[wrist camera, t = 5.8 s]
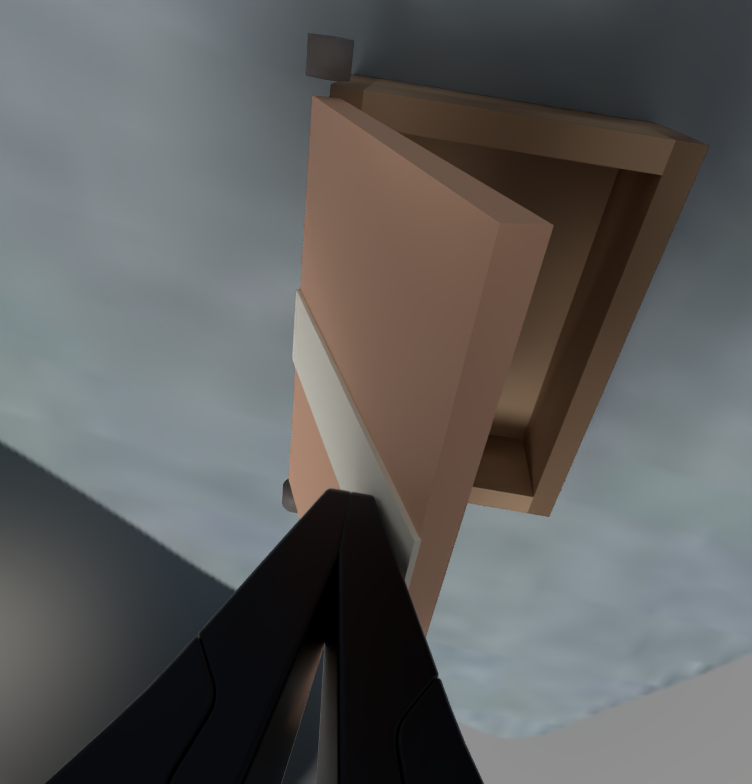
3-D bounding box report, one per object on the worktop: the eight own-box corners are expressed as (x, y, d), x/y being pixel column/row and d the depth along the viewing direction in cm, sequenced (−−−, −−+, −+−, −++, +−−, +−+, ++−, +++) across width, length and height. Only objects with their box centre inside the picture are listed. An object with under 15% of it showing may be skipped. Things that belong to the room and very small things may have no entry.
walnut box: (669, 86, 14) (748, 104, 10) (527, 465, 21) (545, 555, 17) (339, 33, 14) (303, 33, 10) (307, 427, 21) (278, 510, 17)
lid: (556, 226, 5) (494, 223, 5) (392, 748, 11) (360, 758, 11) (340, 98, 12) (307, 94, 11) (307, 475, 17) (285, 478, 17)
